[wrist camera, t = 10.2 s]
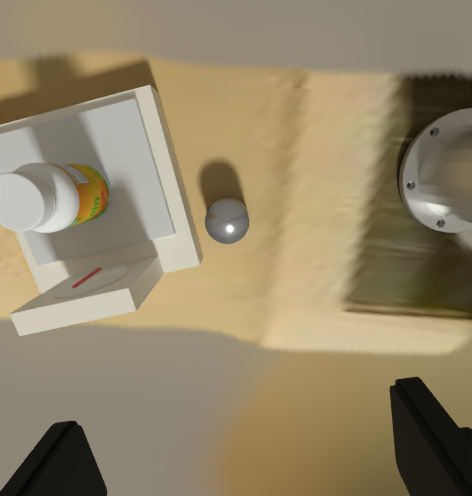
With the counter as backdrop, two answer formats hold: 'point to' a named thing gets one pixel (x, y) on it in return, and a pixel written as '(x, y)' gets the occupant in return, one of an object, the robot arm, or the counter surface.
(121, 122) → the scale
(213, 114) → the counter surface
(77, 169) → the supplement bottle
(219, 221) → the metal cylinder weight
